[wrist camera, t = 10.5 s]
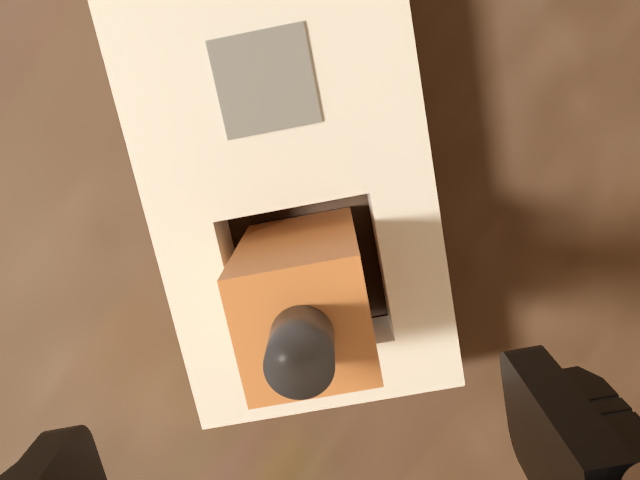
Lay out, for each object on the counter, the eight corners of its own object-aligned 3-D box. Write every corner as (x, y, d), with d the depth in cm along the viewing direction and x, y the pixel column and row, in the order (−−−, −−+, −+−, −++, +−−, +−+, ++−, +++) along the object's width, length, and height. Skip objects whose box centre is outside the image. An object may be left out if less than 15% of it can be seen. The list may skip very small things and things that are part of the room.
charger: (248, 225, 23) (201, 306, 14) (349, 206, 23) (364, 277, 14) (270, 319, 24) (238, 450, 15) (367, 302, 24) (391, 424, 15)
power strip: (111, -4, 21) (82, -17, 18) (388, -62, 20) (397, -84, 18) (214, 396, 25) (202, 431, 22) (451, 356, 24) (465, 386, 22)
